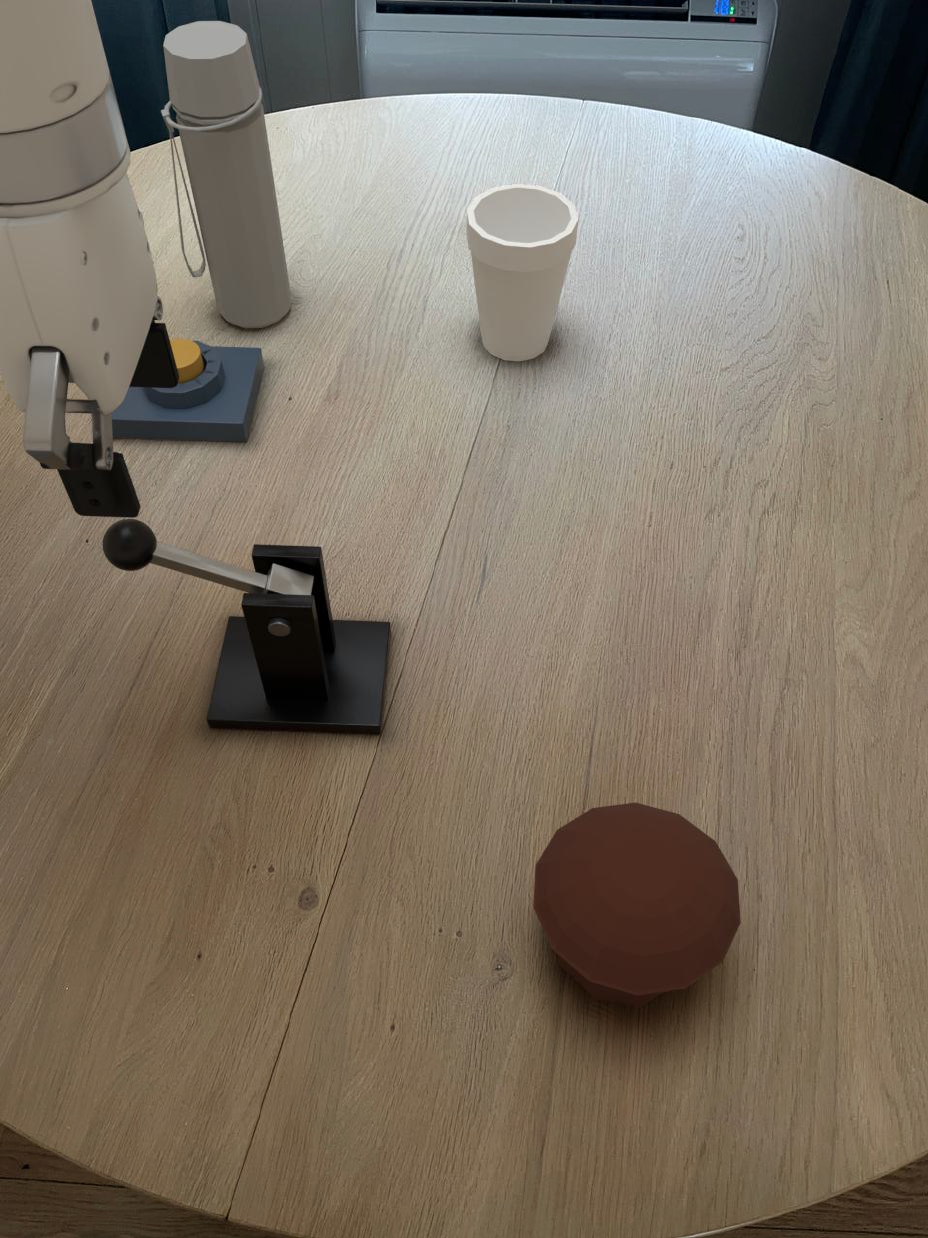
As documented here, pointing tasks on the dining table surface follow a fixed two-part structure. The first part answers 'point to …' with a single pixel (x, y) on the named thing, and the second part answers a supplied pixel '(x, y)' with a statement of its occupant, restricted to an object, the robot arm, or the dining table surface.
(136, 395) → the button housing
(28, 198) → the robot arm
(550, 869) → the muffin
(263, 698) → the bracket
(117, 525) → the tap lever
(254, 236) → the water bottle
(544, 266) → the foam cup
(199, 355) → the button
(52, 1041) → the dining table surface
